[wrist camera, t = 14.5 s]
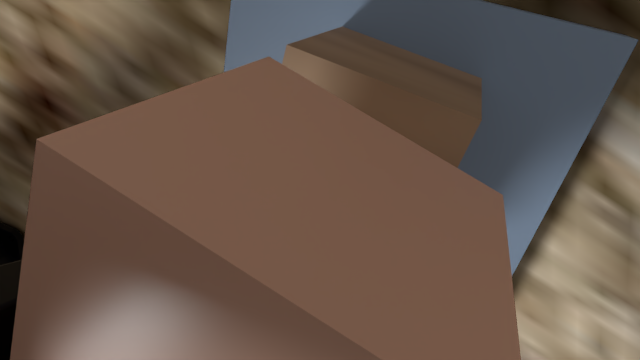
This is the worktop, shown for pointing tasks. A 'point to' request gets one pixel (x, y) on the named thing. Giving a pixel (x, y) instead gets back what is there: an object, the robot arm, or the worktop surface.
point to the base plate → (484, 62)
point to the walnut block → (394, 88)
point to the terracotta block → (258, 235)
